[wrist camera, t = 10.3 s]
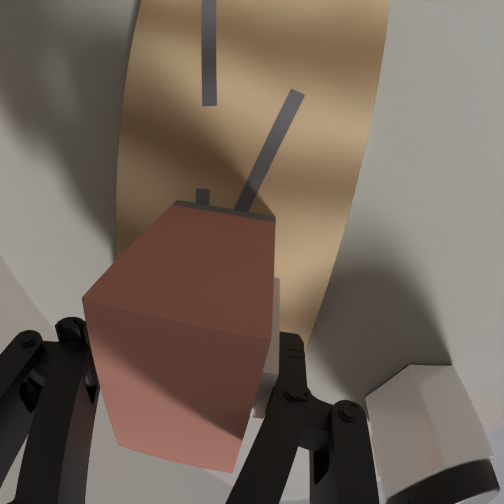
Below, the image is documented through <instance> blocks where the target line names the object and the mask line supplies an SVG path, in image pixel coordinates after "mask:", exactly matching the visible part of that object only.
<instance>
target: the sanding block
mask: <svg viewBox="0 0 504 504" xmlns="http://www.w3.org/2000/svg"><path fill="white" fill-rule="evenodd" d="M275 227H276V217H272V216H267V215H262V214H256V213H250V212H245V211H239V210H233V209H227V208H222V207H216V206H210V205H204V204H198V203H191V202H185V201H179V200H176V201H175V202H174V203H173V204H172V205H171V206H170V207H169V208H168V209H167V210H166V211H165V212H164V213H163V214H162V215H161V216H160V217H159V218H158V219H157V220H156V221H155V222H154V223H152V224H151V225H150V226H149V227H148V228H147V229H146V230H145V231H144V232H143V233H142V234H141V235H140V236H139V237H138V238H137V239H136V240H135V241H134V242H133V243H132V244H131V246H130V247H129V248H128V249H127V250H126V251H125V252H124V253H123V254H122V255H121V256H120V257H119V258H118V259H117V260H116V261H115V262H114V263H113V264H112V265H111V266H110V267H109V268H108V270H107V271H106V272H105V273H104V274H103V275H102V276H101V277H100V278H99V279H98V280H97V281H96V283H95V284H94V285H93V286H92V287H91V288H90V289H89V290H88V291H87V293H86V294H85V295H84V296H83V297H82V302H83V308H84V314H85V320H86V325H87V331H88V336H89V341H90V346H91V350H92V355H93V359H94V364H95V368H96V372H97V376H98V380H99V384H100V388H101V391H102V395H103V398H104V402H105V406H106V408H107V412H108V415H109V418H110V422H111V425H112V428H113V431H114V434H115V437H116V440H117V443H118V445H119V446H122V447H125V448H128V449H131V450H134V451H138V452H141V453H144V454H148V455H151V456H155V457H158V458H162V459H166V460H170V461H174V462H178V463H182V464H187V465H191V466H196V467H201V468H206V469H211V470H217V471H223V472H229V473H232V472H233V469H234V466H235V463H236V460H237V457H238V453H239V450H240V447H241V444H242V440H243V437H244V434H245V431H246V427H247V424H248V421H249V417H250V414H251V410H252V407H253V404H254V400H255V397H256V393H257V390H258V386H259V383H260V379H261V376H262V372H263V368H264V365H265V361H266V358H267V354H268V350H269V347H270V343H271V337H272V314H273V289H274V260H275Z"/></svg>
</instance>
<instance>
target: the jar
mask: <svg viewBox="0 0 504 504" xmlns="http://www.w3.org/2000/svg"><path fill="white" fill-rule="evenodd" d="M365 400H366V405H367V409H368V414H369V419H370V424H371V429H372V435H371V439H372V444H373V449H374V455H375V461H376V467H377V472H378V476H379V477H381V484H382V489H383V496H384V503H385V504H487V503H488V502H490V501H491V500H492V499H493V498H494V497H495V496H496V495H497V494H498V493H499V490H500V487H499V484H498V481H497V478H496V475H495V472H494V470H493V467H492V464H491V462H490V461H491V459H492V457H493V451H492V449H491V446H490V444H489V442H488V439H487V436H486V434H485V431H484V429H483V427H482V424H481V422H480V420H479V418H478V415H477V413H476V411H475V409H474V407H473V404H472V402H471V400H470V398H469V396H468V394H467V392H466V390H465V388H464V386H463V384H462V382H461V380H460V378H459V376H458V374H457V372H456V370H455V368H454V366H444V365H408V366H407V367H406V368H404V369H403V370H402V371H400V372H399V373H398V374H396V375H395V376H394V377H392V378H391V379H390V380H388V381H387V382H386V383H384V384H383V385H381V386H380V387H379V388H377V389H376V390H374V391H373V392H371V393H370V394H368V395H367V396H366V398H365Z"/></svg>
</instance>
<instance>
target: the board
mask: <svg viewBox="0 0 504 504" xmlns="http://www.w3.org/2000/svg"><path fill="white" fill-rule="evenodd" d="M389 5H390V0H141V4H140V8H139V12H138V16H137V21H136V26H135V30H134V35H133V40H132V46H131V51H130V57H129V63H128V69H127V75H126V82H125V89H124V97H123V105H122V114H121V124H120V135H119V147H118V162H117V184H116V259H118V258H119V257H120V256H121V255H122V254H123V253H124V252H125V251H126V250H127V249H128V248H129V247H130V246H131V244H132V243H133V242H134V241H135V240H136V239H137V238H138V237H139V236H140V235H141V234H142V233H143V232H144V231H145V230H146V229H147V228H148V227H149V226H150V225H151V224H152V223H154V222H155V221H156V220H157V219H158V218H159V217H160V216H161V215H162V214H163V213H164V212H165V211H166V210H167V209H168V208H169V207H170V206H171V205H172V204H173V203H174V202H175V201H176V200H179V201H185V202H191V203H198V204H204V205H210V206H216V207H222V208H227V209H233V210H239V211H245V212H250V213H256V214H262V215H267V216H272V217H276V227H275V260H274V277H276V278H280V326H279V331H282V332H288V333H295V334H299V335H300V337H301V339H302V340H303V342H304V352H305V350H306V347H307V345H308V342H309V339H310V336H311V333H312V331H313V328H314V325H315V322H316V319H317V316H318V313H319V310H320V307H321V304H322V301H323V298H324V295H325V292H326V289H327V286H328V283H329V279H330V276H331V273H332V270H333V267H334V263H335V260H336V257H337V253H338V250H339V247H340V243H341V240H342V236H343V233H344V229H345V226H346V222H347V218H348V215H349V211H350V207H351V203H352V200H353V196H354V192H355V188H356V184H357V180H358V176H359V172H360V168H361V163H362V159H363V155H364V150H365V146H366V142H367V137H368V132H369V128H370V123H371V118H372V113H373V108H374V103H375V98H376V92H377V87H378V81H379V76H380V70H381V64H382V57H383V51H384V44H385V37H386V30H387V22H388V14H389Z"/></svg>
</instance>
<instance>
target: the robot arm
mask: <svg viewBox="0 0 504 504" xmlns="http://www.w3.org/2000/svg"><path fill="white" fill-rule="evenodd" d="M279 326H280V278H276V277H274V289H273V314H272V337H271V343H270V347H269V350H268V354H267V358H266V361H265V365H264V368H263V372H262V376H261V379H260V383H259V386H258V390H257V393H256V397H255V400H254V404H253V407H252V410H251V414H250V417H254V418H262V419H263V418H264V416H265V418H264V420H263V423H262V425H261V427H260V430H259V432H258V434H257V436H256V439H255V441H254V443H253V446H252V448H251V450H250V452H249V454H248V457H247V459H246V461H245V463H244V465H243V468H242V470H241V472H240V474H239V476H238V478H237V480H236V483H235V485H234V487H233V489H232V491H231V493H230V495H229V497H228V499H227V501H226V503H225V504H279V501H280V499H281V496H282V493H283V490H284V488H285V485H286V482H287V479H288V476H289V473H290V470H291V467H292V464H293V461H294V458H295V455H296V452H297V448H298V446H300V447H302V448H305V449H308V450H309V459H310V504H379V496H378V488H377V481H376V474H375V467H374V460H373V454H372V448H371V442H370V436H369V430H368V424H367V419H366V414H365V412H364V409H363V408H362V407H361V406H360V405H359V404H357V403H355V402H353V401H349V400H341V401H339V402H337V403H335V404H334V405H332V404H329V403H326V402H323V401H321V400H319V399H317V398H316V397H314V396H313V395H312V394H311V392H310V390H309V389H308V387H307V379H306V364H305V353H304V342H303V340H302V339H301V337H300V335H299V334H295V333H288V332H282V331H279ZM55 328H56V332H57V336H58V339H59V342H52V341H43V340H42V337H41V335H40V334H39V333H38V332H36V331H33V330H26V331H23V332H20V333H19V334H18V335H17V336H16V337H15V338H14V339H13V340H12V342H11V343H10V344H9V345H8V346H7V347H6V348H5V350H4V351H3V352H2V353H1V354H0V488H1V486H2V483H3V481H4V479H5V477H6V475H7V473H8V471H9V469H10V467H11V465H12V464H13V462H14V460H15V458H16V456H17V454H18V452H19V450H20V448H21V447H22V445H23V443H24V441H25V439H26V437H27V436H28V438H27V442H26V447H25V451H24V455H23V459H22V464H21V468H20V473H19V478H18V483H17V490H16V495H15V498H14V500H13V501H12V502H10V503H7V504H85V494H86V482H87V471H88V462H89V454H90V446H91V439H92V433H93V426H94V420H95V414H96V408H97V402H98V396H99V391H100V384H99V380H98V376H97V372H96V368H95V364H94V359H93V355H92V350H91V346H90V341H89V336H88V331H87V325H86V321H83V320H82V319H81V318H77V317H67V318H63V319H61V320H60V321H58V322H57V324H56V325H55ZM28 434H29V435H28Z"/></svg>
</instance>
